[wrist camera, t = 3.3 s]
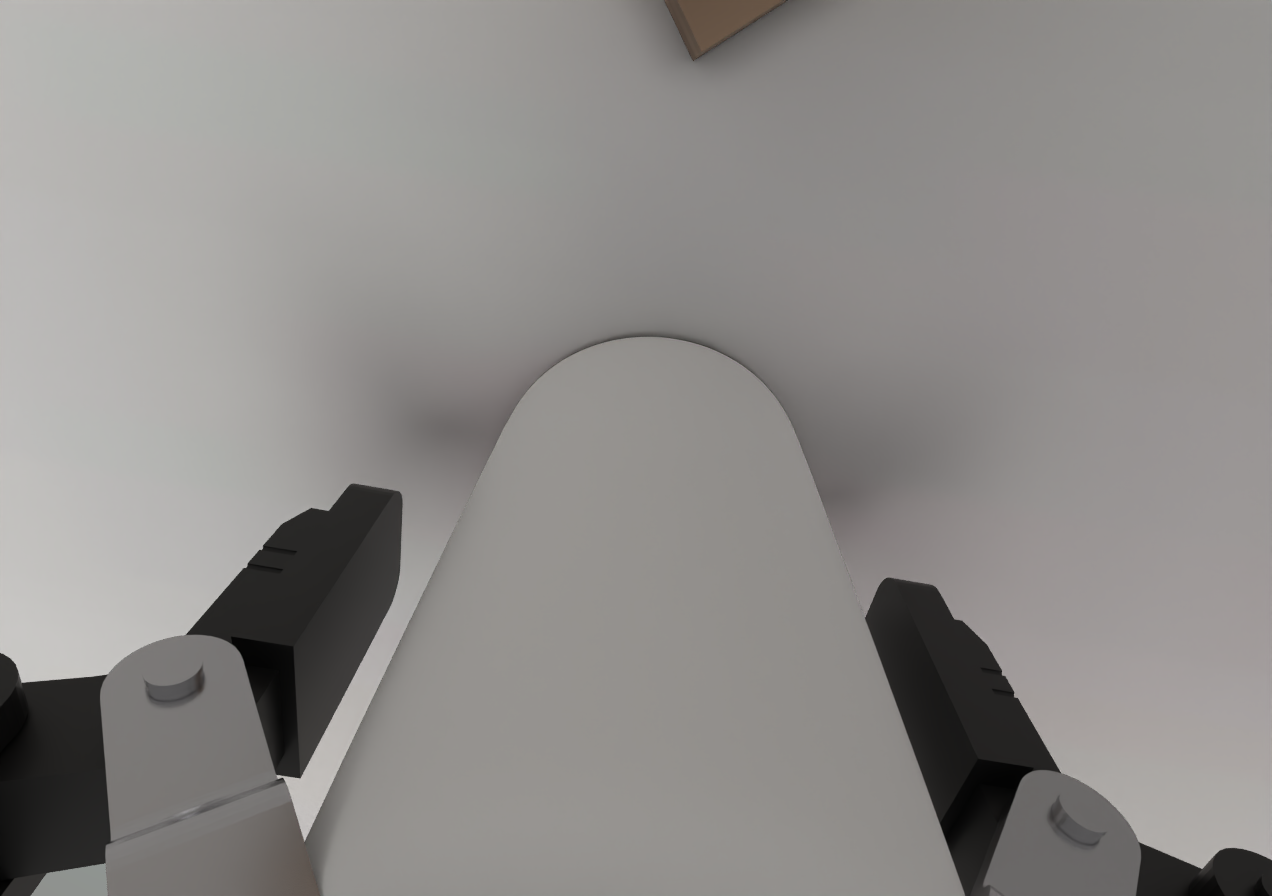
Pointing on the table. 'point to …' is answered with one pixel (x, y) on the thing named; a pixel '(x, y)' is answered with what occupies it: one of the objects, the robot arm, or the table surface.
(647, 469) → the can
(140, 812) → the robot arm
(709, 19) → the tray
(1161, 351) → the table surface
